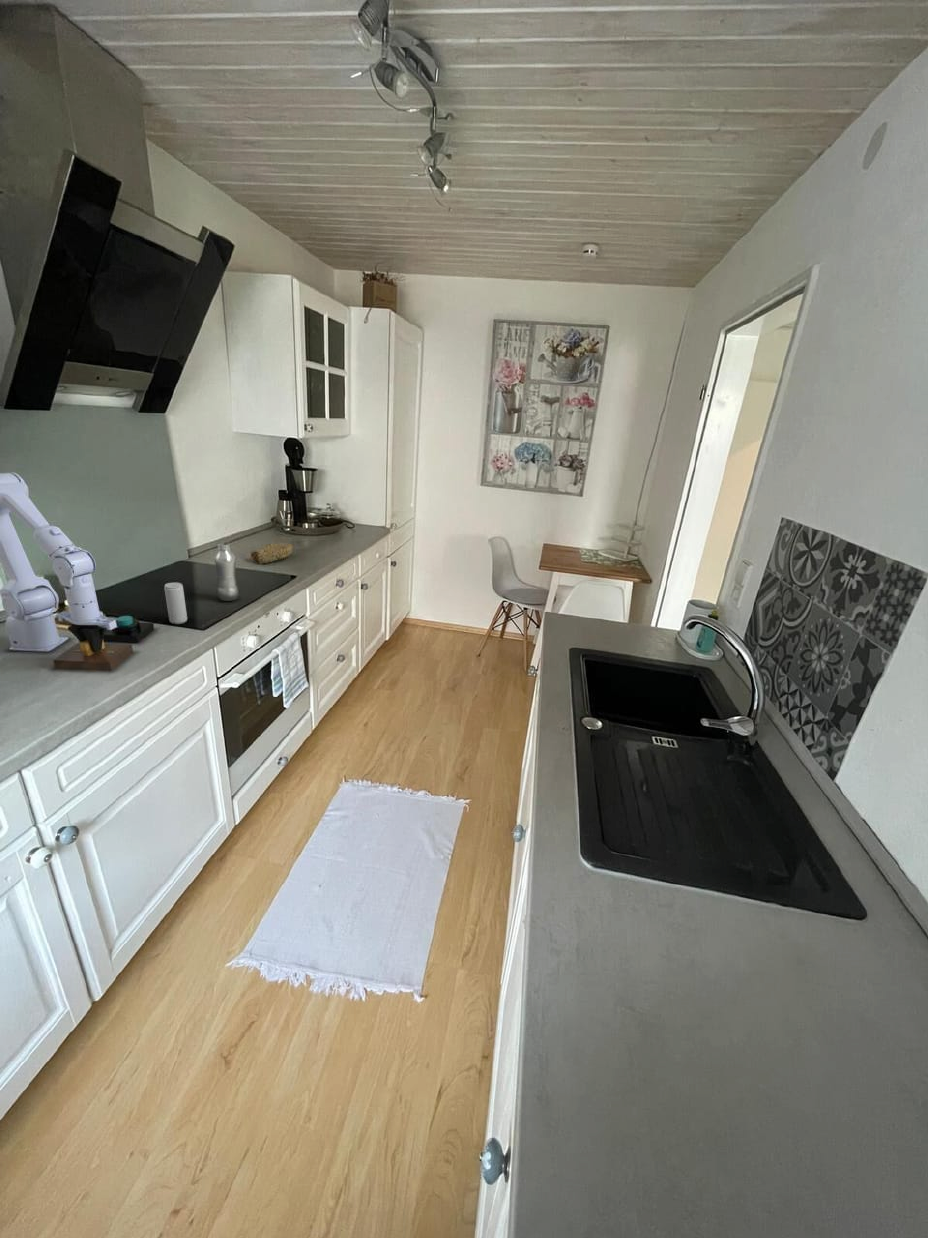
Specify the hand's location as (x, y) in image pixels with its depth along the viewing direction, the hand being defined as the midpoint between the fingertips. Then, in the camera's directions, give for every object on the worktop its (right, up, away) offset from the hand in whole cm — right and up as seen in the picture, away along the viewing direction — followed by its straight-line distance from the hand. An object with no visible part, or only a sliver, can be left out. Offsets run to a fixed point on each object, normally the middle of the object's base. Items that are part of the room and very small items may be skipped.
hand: (93, 650), depth 124 cm
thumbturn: (0, 0, 0) cm, 0 cm away
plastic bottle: (+13, +14, +45) cm, 49 cm away
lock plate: (0, -3, +1) cm, 3 cm away
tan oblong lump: (+11, +34, +91) cm, 98 cm away
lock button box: (-2, +3, +15) cm, 15 cm away
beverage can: (+6, +7, +26) cm, 28 cm away
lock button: (-1, +7, +14) cm, 15 cm away
